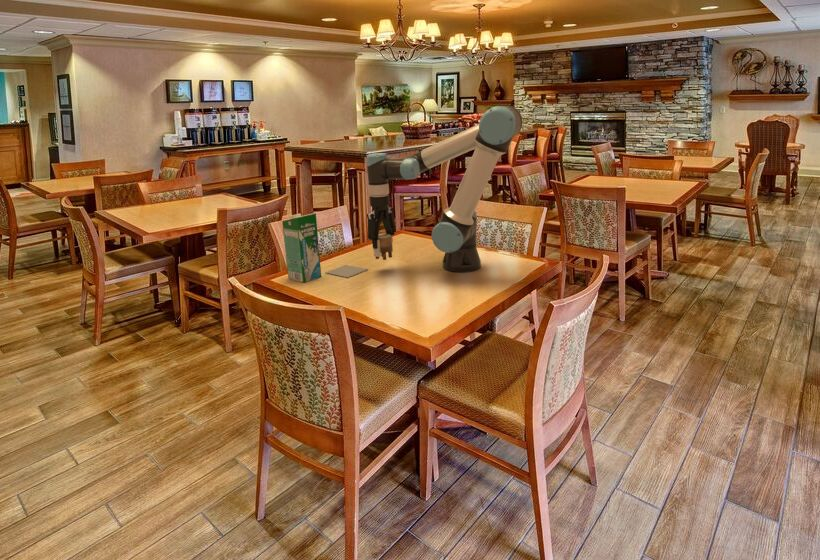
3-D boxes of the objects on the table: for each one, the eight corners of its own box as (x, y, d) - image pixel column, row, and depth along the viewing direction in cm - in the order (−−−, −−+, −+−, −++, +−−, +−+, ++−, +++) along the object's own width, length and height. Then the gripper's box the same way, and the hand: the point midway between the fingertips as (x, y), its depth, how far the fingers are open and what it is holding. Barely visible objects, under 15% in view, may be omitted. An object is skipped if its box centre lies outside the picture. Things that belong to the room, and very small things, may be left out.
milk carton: (306, 272, 223) (300, 210, 215) (321, 276, 217) (316, 212, 210) (288, 278, 216) (281, 214, 208) (303, 283, 211) (297, 217, 203)
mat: (368, 270, 224) (368, 269, 224) (347, 278, 214) (347, 277, 214) (345, 265, 230) (345, 264, 230) (325, 273, 221) (325, 272, 221)
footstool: (396, 256, 221) (394, 234, 218) (385, 261, 215) (383, 238, 212) (382, 254, 225) (380, 232, 222) (371, 259, 219) (369, 236, 216)
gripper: (387, 190, 222) (391, 246, 229) (354, 199, 207) (359, 259, 214) (402, 191, 218) (406, 248, 225) (370, 200, 203) (374, 261, 210)
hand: (383, 253), depth 219 cm, fingers closed on footstool, 7 cm apart
